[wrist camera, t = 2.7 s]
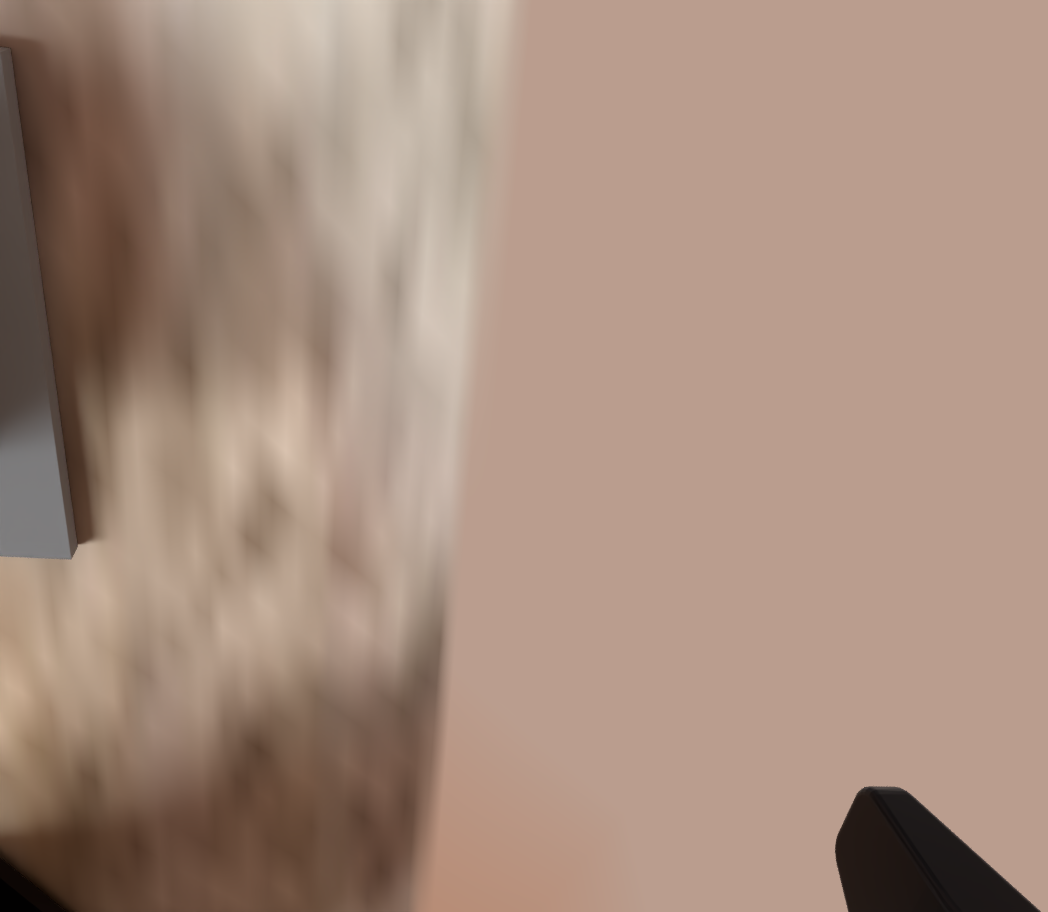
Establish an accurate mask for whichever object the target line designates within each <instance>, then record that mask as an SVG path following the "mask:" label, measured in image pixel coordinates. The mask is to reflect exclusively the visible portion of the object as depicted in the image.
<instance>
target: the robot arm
mask: <svg viewBox="0 0 1048 912" xmlns="http://www.w3.org/2000/svg"><path fill="white" fill-rule="evenodd" d="M835 853H836V862H837V867H838V871H839V875H840V879H841V883H842V887H843V892H844V896H845V900H846V904H847V908H848V912H1040V910H1038V909H1037V908H1036V907H1035V906H1034V905H1033V904H1032V903H1031V902H1030V901H1028V900H1027V899H1026V898H1025V897H1024V896H1023V895H1022V894H1021V893H1019V892H1018V891H1017V890H1016V889H1015V888H1014V887H1013V886H1012V885H1011V884H1010V883H1009V882H1007V881H1006V880H1005V879H1004V878H1003V877H1002V876H1001V875H1000V874H998V873H997V872H996V871H995V870H994V869H993V868H992V867H991V866H990V865H989V864H987V863H986V862H985V861H984V860H983V859H982V858H981V857H980V856H979V855H977V854H976V853H975V852H974V851H973V850H972V849H971V848H970V847H969V846H968V845H966V844H965V843H964V842H963V841H962V840H961V839H960V838H959V837H958V836H956V835H955V834H954V833H953V832H952V831H951V830H950V829H949V828H948V827H946V826H945V825H944V824H943V823H942V822H941V821H940V820H939V819H938V818H937V817H935V816H934V815H933V814H932V813H931V812H930V811H929V810H928V809H927V808H925V807H924V806H923V805H922V804H921V803H920V802H919V801H918V800H917V799H915V798H914V797H913V796H912V795H911V794H910V793H908V792H907V791H905V790H903V789H901V788H898V787H864V788H863V789H861V790H860V791H859V792H858V793H857V795H856V797H855V799H854V801H853V804H852V805H851V808H850V810H849V812H848V814H847V816H846V818H845V820H844V823H843V825H842V827H841V829H840V831H839V833H838V836H837V839H836V845H835ZM0 912H66V911H65V910H63V909H62V908H61V907H60V906H59V905H57V904H56V903H55V902H54V901H52V900H51V899H50V898H49V897H48V896H46V895H45V894H44V893H43V892H41V891H40V890H39V889H38V888H37V887H35V886H34V885H33V884H32V883H30V882H29V881H28V880H27V879H26V878H24V877H23V876H22V875H21V874H19V873H18V872H17V871H16V870H15V869H13V868H12V867H11V866H10V865H8V864H7V863H6V862H5V861H4V860H2V859H1V858H0Z"/></svg>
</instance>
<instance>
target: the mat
mask: <svg viewBox="0 0 1048 912" xmlns="http://www.w3.org/2000/svg"><path fill="white" fill-rule="evenodd" d="M77 547H78V545H77V538H76V531H75V523H74V516H73V508H72V501H71V493H70V486H69V479H68V471H67V464H66V456H65V449H64V442H63V434H62V427H61V419H60V412H59V404H58V397H57V390H56V382H55V375H54V367H53V360H52V352H51V345H50V338H49V330H48V323H47V315H46V308H45V301H44V293H43V286H42V278H41V271H40V263H39V256H38V249H37V241H36V234H35V226H34V219H33V212H32V204H31V197H30V189H29V182H28V174H27V167H26V160H25V152H24V145H23V137H22V130H21V123H20V115H19V108H18V100H17V93H16V85H15V78H14V71H13V63H12V56H11V48H5V47H0V556H5V557H27V558H49V559H72V557H73V555H74V553H75V551H76V549H77Z"/></svg>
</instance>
